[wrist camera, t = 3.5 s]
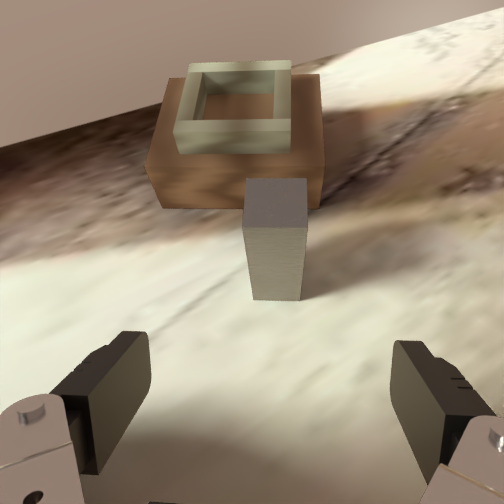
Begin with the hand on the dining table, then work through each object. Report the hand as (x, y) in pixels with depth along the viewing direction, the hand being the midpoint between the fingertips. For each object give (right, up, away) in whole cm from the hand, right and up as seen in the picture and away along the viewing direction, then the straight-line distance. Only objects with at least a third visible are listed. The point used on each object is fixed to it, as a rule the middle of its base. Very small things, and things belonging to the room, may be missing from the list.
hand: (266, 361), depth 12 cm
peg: (+2, +1, +21) cm, 21 cm away
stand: (-1, +14, +29) cm, 32 cm away
